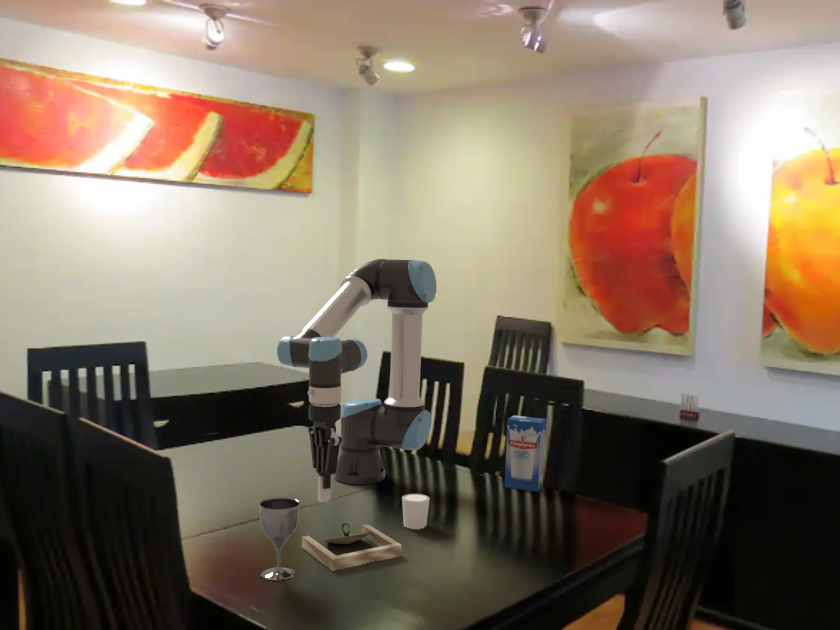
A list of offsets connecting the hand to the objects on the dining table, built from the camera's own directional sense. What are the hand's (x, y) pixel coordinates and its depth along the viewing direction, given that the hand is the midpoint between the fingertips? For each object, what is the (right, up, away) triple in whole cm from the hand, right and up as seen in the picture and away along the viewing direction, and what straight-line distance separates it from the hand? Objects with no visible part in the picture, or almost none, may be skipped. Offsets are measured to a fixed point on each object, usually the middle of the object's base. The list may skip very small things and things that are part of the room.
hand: (324, 500), depth 187 cm
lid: (+6, -9, -8) cm, 13 cm away
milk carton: (+53, -6, +42) cm, 68 cm away
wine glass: (-6, -9, -26) cm, 28 cm away
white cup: (+22, -8, +6) cm, 24 cm away
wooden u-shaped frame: (+7, -9, -12) cm, 16 cm away
